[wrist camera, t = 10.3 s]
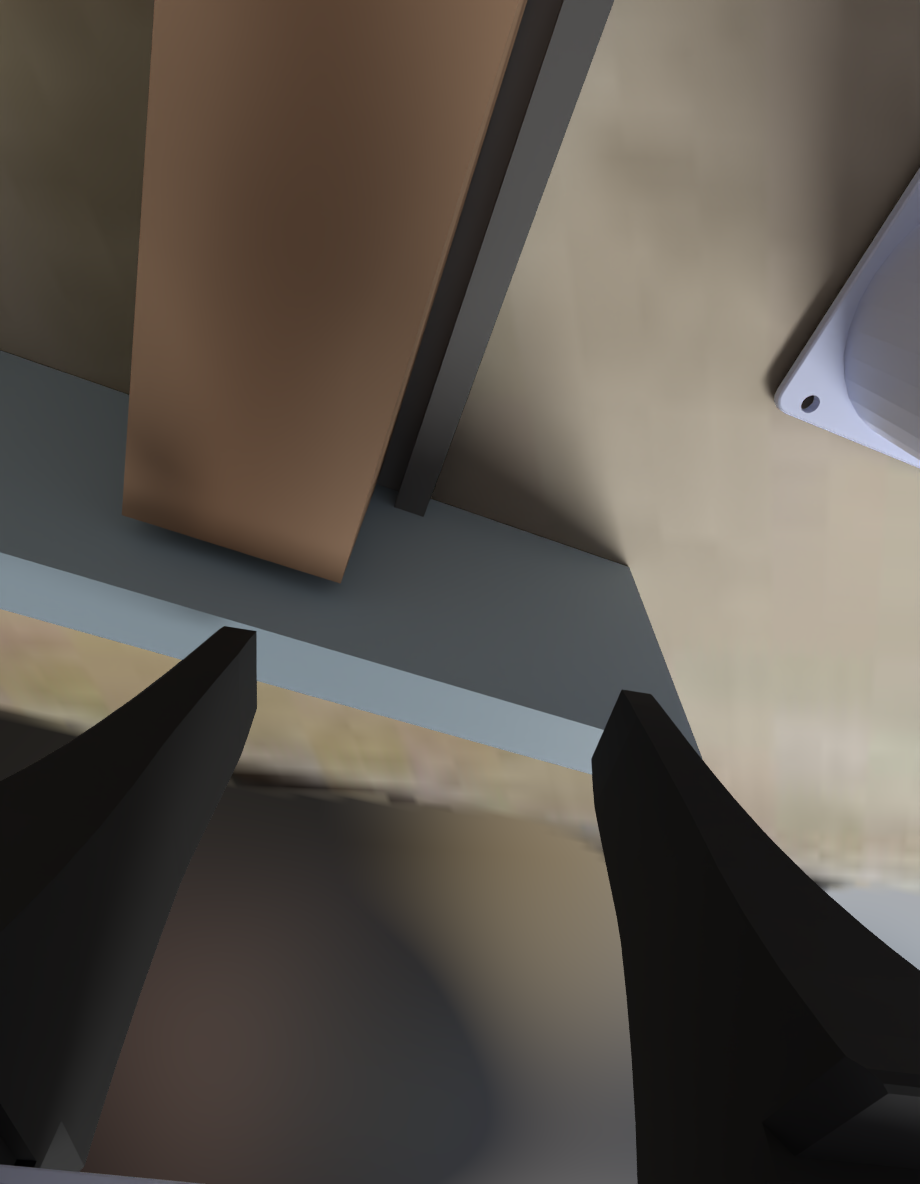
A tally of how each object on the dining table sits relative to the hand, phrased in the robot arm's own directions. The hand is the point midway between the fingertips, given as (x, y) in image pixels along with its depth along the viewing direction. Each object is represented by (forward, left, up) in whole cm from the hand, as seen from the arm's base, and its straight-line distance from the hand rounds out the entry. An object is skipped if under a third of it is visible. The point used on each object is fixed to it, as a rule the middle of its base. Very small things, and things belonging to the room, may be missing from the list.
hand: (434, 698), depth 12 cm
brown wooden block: (+5, -7, -10) cm, 13 cm away
